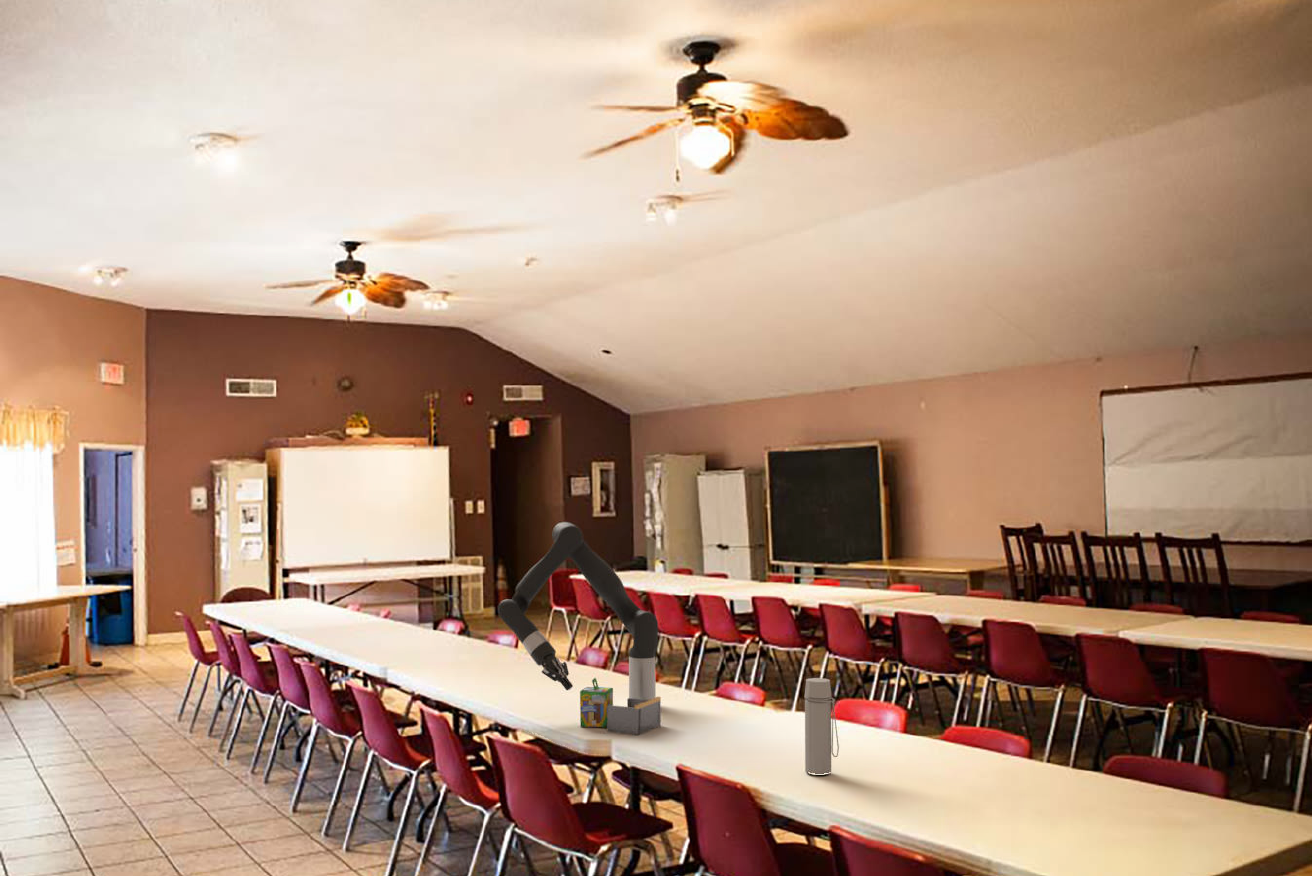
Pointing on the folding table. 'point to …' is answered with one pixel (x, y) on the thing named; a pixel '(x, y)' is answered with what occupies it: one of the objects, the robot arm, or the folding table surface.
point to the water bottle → (818, 726)
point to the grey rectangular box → (634, 716)
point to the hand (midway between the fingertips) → (570, 688)
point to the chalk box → (595, 705)
